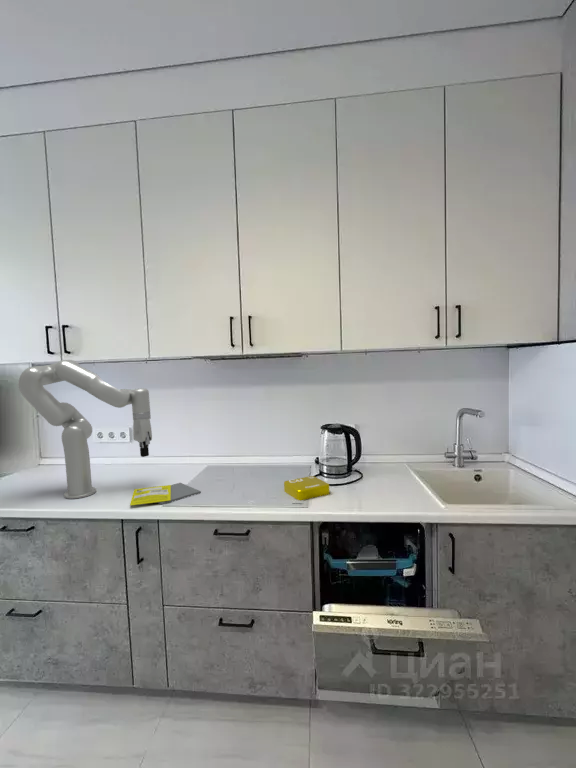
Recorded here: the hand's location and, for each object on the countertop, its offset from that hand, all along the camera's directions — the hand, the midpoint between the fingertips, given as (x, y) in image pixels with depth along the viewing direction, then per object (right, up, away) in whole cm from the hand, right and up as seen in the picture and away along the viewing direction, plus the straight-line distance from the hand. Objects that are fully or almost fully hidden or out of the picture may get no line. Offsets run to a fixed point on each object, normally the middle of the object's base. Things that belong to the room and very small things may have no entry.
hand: (144, 456), depth 182 cm
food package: (+5, -13, -4) cm, 14 cm away
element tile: (+73, -13, -15) cm, 75 cm away
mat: (+15, -14, -10) cm, 23 cm away
